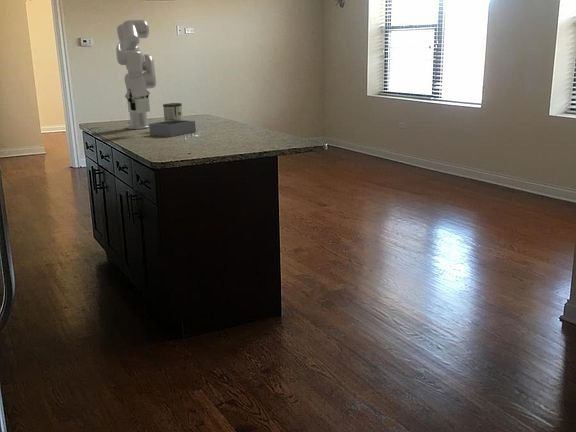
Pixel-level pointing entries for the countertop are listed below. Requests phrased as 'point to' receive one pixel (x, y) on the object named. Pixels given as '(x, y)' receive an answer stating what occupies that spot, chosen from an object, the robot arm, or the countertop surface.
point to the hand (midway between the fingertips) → (139, 109)
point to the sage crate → (140, 105)
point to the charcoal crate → (172, 128)
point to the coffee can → (172, 111)
